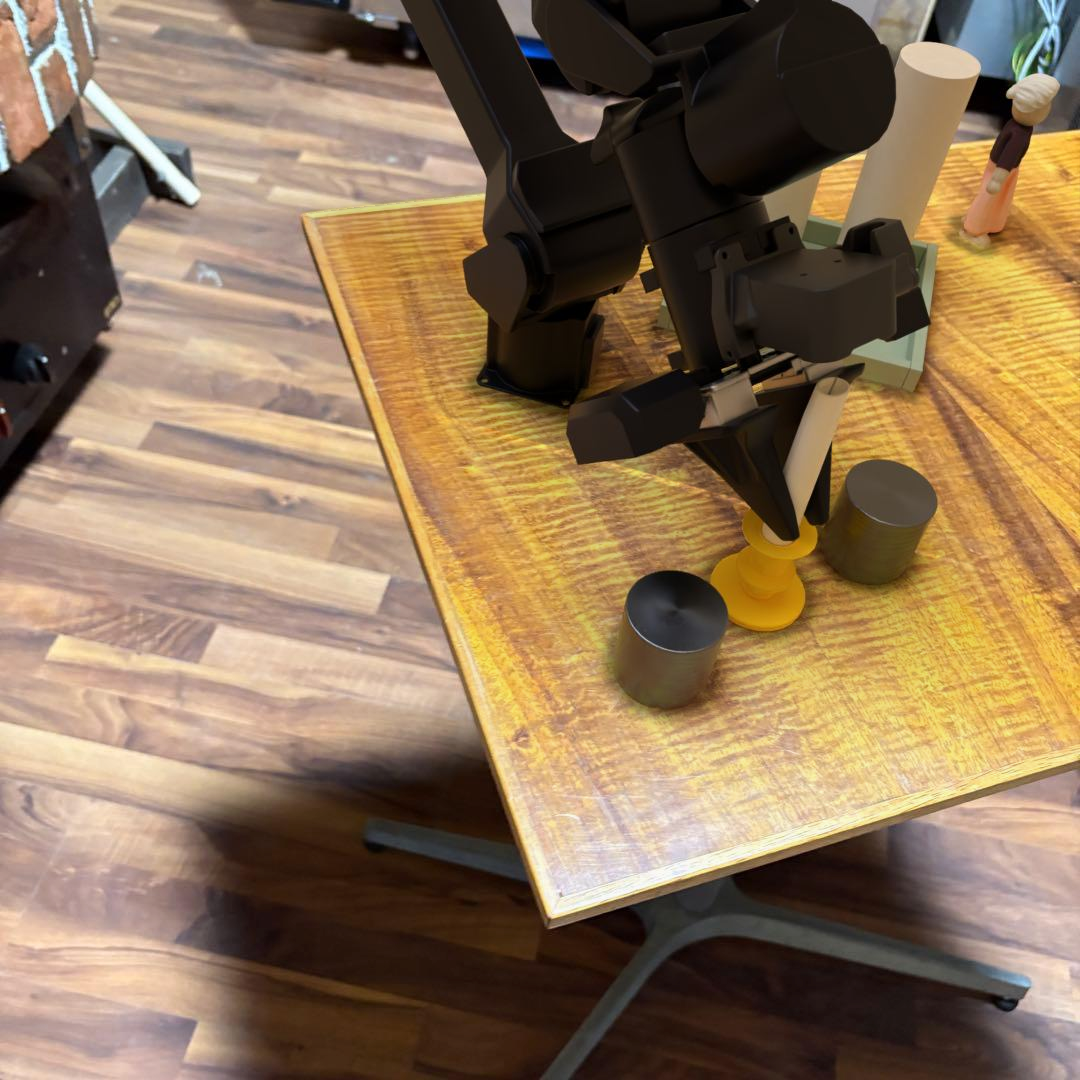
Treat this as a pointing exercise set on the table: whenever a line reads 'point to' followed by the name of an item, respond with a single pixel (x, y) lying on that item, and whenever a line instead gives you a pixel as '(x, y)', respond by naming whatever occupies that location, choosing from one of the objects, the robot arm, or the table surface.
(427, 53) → the robot arm
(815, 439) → the candle
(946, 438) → the table surface
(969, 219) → the grandmother figurine
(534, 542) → the table surface
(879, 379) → the tray
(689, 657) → the grey tins
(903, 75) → the cream candles
